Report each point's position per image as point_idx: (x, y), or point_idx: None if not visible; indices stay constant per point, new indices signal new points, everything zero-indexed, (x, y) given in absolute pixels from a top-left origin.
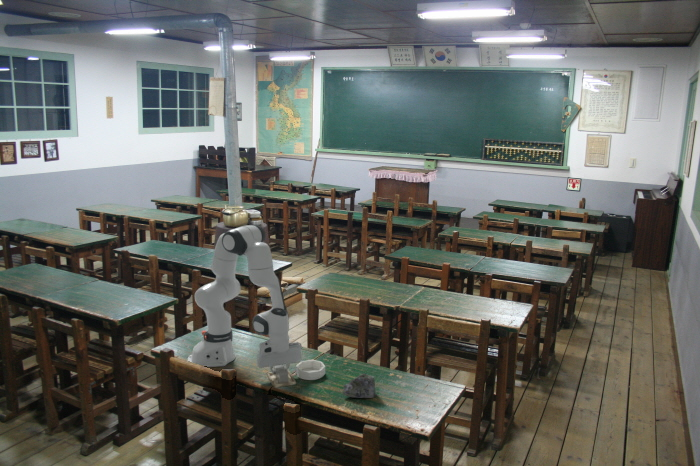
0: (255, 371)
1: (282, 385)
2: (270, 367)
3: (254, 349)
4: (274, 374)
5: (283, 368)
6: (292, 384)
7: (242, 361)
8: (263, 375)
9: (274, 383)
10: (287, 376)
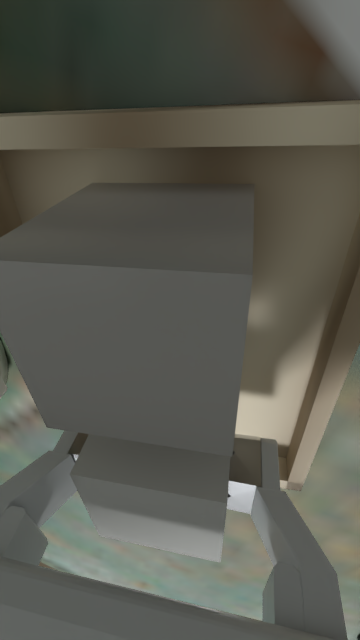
0: (350, 529)
1: (216, 107)
2: (334, 601)
3: None
4: (247, 436)
5: (94, 485)
6: (22, 114)
7: (354, 606)
8: (322, 472)
9: (315, 273)
10: (31, 234)
